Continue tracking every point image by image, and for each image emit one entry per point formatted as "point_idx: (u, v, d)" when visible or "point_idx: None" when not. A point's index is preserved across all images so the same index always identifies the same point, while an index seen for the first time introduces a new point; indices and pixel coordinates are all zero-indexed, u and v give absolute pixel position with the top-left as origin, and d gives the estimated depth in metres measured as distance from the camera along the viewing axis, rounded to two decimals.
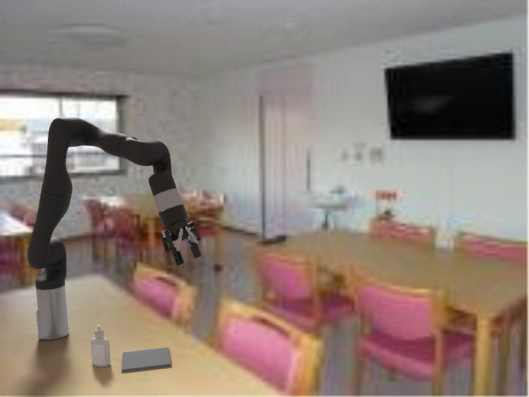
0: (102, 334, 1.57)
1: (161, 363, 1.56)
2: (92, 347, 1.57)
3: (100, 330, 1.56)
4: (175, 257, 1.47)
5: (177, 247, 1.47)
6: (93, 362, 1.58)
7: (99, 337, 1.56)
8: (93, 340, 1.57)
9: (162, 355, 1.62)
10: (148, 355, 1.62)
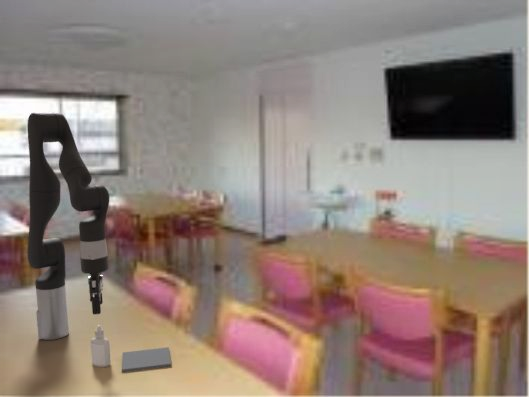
0: (102, 334, 1.57)
1: (161, 363, 1.56)
2: (92, 347, 1.57)
3: (100, 330, 1.56)
4: (95, 306, 1.51)
5: (100, 297, 1.51)
6: (93, 362, 1.58)
7: (99, 337, 1.56)
8: (93, 340, 1.57)
9: (162, 355, 1.62)
10: (148, 355, 1.62)
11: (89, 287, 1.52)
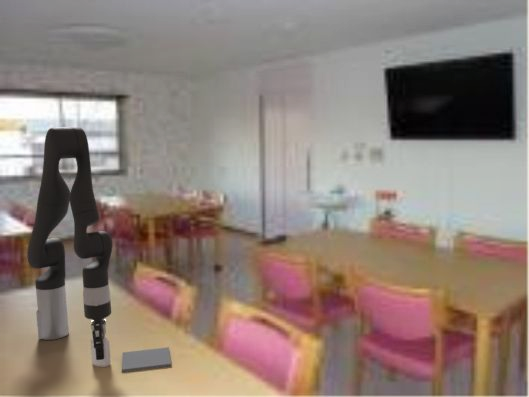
0: None
1: (161, 363, 1.56)
2: (92, 347, 1.57)
3: None
4: (99, 352, 1.54)
5: (103, 343, 1.55)
6: (93, 362, 1.58)
7: None
8: None
9: (162, 355, 1.62)
10: (148, 355, 1.62)
11: (92, 333, 1.54)
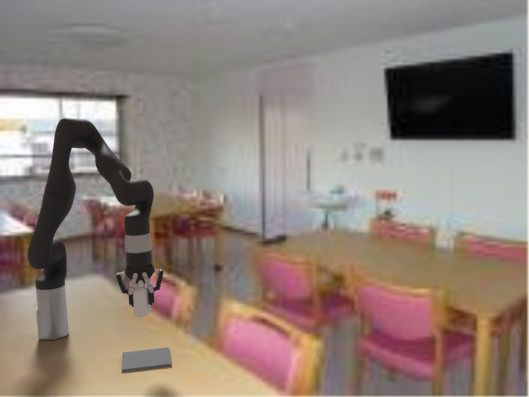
0: (138, 284, 1.55)
1: (161, 363, 1.56)
2: None
3: None
4: None
5: (130, 291, 1.55)
6: None
7: None
8: None
9: (162, 355, 1.62)
10: (148, 355, 1.62)
11: None
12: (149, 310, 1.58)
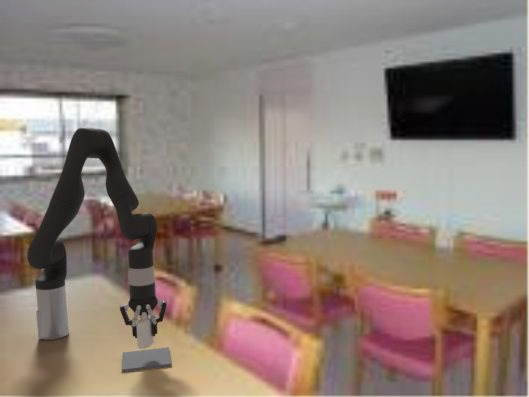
0: (141, 316, 1.57)
1: (161, 363, 1.56)
2: None
3: None
4: (132, 329, 1.58)
5: (134, 323, 1.57)
6: None
7: (140, 317, 1.58)
8: None
9: (162, 355, 1.62)
10: (148, 355, 1.62)
11: None
12: (152, 341, 1.60)
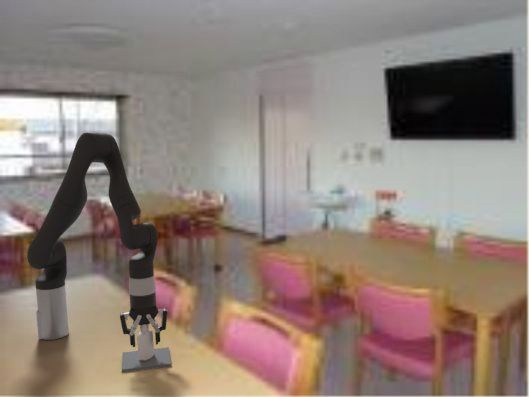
0: (142, 328, 1.58)
1: (161, 363, 1.56)
2: None
3: None
4: (130, 338, 1.58)
5: (131, 332, 1.57)
6: None
7: (140, 329, 1.59)
8: None
9: (162, 355, 1.62)
10: None
11: None
12: (153, 353, 1.61)
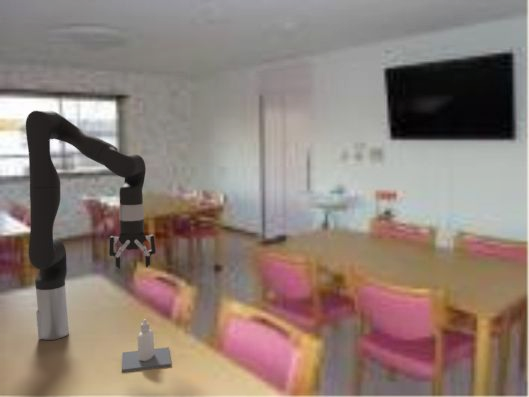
0: (142, 328, 1.58)
1: (161, 363, 1.56)
2: None
3: (142, 324, 1.58)
4: None
5: (117, 254, 1.68)
6: None
7: (141, 330, 1.59)
8: None
9: (162, 355, 1.62)
10: None
11: None
12: (153, 353, 1.61)
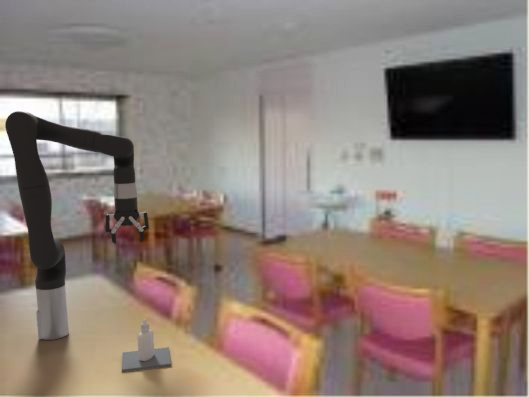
0: (142, 328, 1.58)
1: (161, 363, 1.56)
2: None
3: (142, 324, 1.58)
4: None
5: (113, 230, 1.80)
6: None
7: (141, 330, 1.59)
8: None
9: (162, 355, 1.62)
10: None
11: None
12: (153, 353, 1.61)
